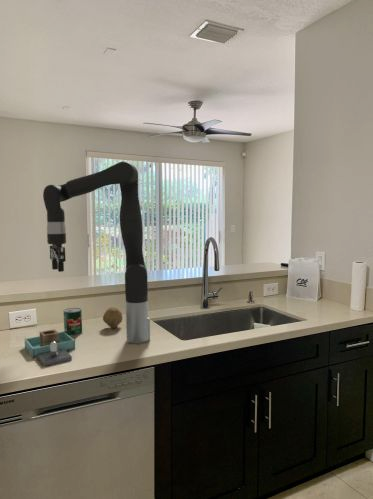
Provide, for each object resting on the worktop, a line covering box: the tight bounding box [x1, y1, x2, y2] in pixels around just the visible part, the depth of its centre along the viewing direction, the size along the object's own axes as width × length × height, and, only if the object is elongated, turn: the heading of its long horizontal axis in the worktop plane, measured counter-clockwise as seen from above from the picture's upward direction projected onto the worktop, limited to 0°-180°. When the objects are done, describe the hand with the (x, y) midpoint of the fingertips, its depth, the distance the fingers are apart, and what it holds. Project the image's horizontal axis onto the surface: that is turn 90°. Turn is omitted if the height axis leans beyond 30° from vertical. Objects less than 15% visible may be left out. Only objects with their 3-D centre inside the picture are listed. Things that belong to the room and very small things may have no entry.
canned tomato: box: [63, 307, 83, 337], centre depth 166 cm, size 8×8×11 cm
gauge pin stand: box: [36, 342, 73, 368], centre depth 136 cm, size 10×10×7 cm
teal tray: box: [24, 331, 76, 359], centre depth 148 cm, size 16×14×4 cm
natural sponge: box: [102, 306, 123, 329], centre depth 175 cm, size 9×9×10 cm
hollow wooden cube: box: [39, 329, 59, 347], centre depth 148 cm, size 6×6×6 cm
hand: (57, 270), depth 157 cm, fingers open, 8 cm apart
